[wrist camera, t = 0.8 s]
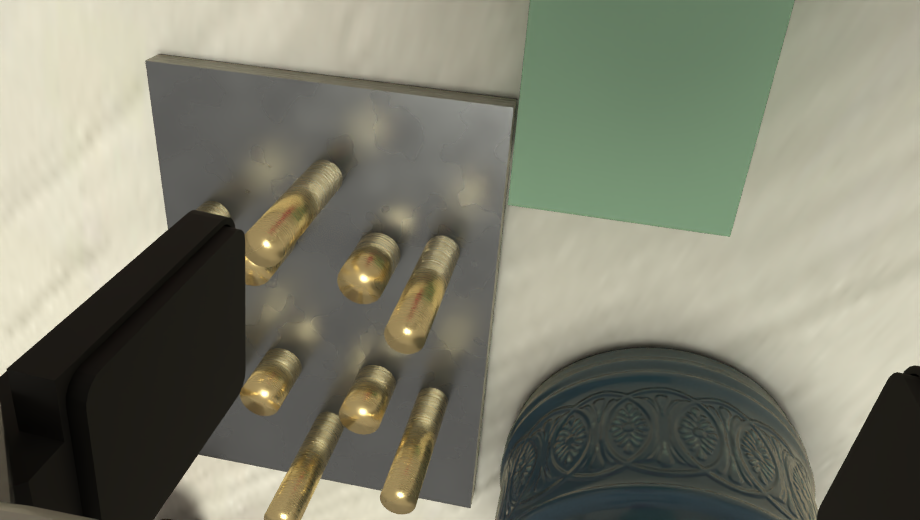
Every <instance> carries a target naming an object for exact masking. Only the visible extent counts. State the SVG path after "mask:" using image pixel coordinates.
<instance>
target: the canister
mask: <svg viewBox="0 0 920 520" xmlns="http://www.w3.org/2000/svg"><path fill="white" fill-rule="evenodd" d="M500 488H501V491H500V496H499V502H498V507H497V512H496V517H495V520H817V514H818V509H817V505H816V502H815V483H814V478H813V473H812V470H811V467H810V464H809V461H808V457H807V454H806V451H805V448H804V446H803V443H802V441H801V439H800V437H799V436H798V434H797V432H796V430H795V429H794V427H793V426H792V425H791V423H790V422H789V420H788V419H787V417H786V416H785V414H784V412H783V411H782V409H781V408H780V407H779V405H778V404H777V403H776V402H775V400H774V399H773V398H772V397H771V396H770V395H769V394H768V393H767V392H766V391H765V390H764V389H763V388H762V387H761V386H759V385H758V384H757V383H756V382H754V381H753V380H752V379H750V378H749V377H747V376H746V375H744V374H743V373H741V372H739V371H738V370H736V369H734V368H732V367H730V366H728V365H726V364H724V363H721V362H719V361H716V360H714V359H711V358H708V357H705V356H702V355H698V354H695V353H691V352H686V351H681V350H674V349H667V348H628V349H620V350H614V351H609V352H604V353H600V354H596V355H593V356H590V357H587V358H585V359H582V360H580V361H577V362H575V363H573V364H571V365H569V366H567V367H565V368H563V369H562V370H560V371H558V372H557V373H555V374H554V375H553V376H551V377H550V378H549V379H547V380H546V381H545V382H544V383H543V384H541V385H540V387H539V388H538V389H537V390H536V391H535V392H534V393H533V394H532V395H531V396H530V398H529V399H528V401H527V402H526V404H525V405H524V407H523V409H522V410H521V412H520V415H519V417H518V418H517V420H516V421H515V423H514V425H513V427H512V429H511V431H510V433H509V436H508V438H507V442H506V445H505V449H504V454H503V458H502V463H501V470H500Z"/></svg>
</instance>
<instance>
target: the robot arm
mask: <svg viewBox="0 0 920 520" xmlns="http://www.w3.org/2000/svg"><path fill="white" fill-rule="evenodd" d="M245 371H246V352H245V235H244V232H243V231H242V230H240V229H236V228H235V224H234V221H233V220H232V219H231V218H230V217H226V216H221V215H217V214H212V213H207V212H203V211H198V210H192V211H190V212H188V213H187V214H186V215H185V216H184V217H182V218H181V219H180V220H179V221H178V222H177V223H175V224H174V225H173V226H172V227H171V228H170V229H168V230H167V231H166V232H165V233H164V234H163V235H161V236H160V237H159V238H158V239H157V240H156V241H155V242H153V243H152V244H151V245H150V246H149V247H148V248H146V249H145V250H144V251H143V252H142V253H141V254H139V255H138V256H137V257H136V258H135V259H134V260H133V261H131V262H130V263H129V264H128V265H127V266H126V267H124V268H123V269H122V270H121V271H120V272H119V273H117V274H116V275H115V276H114V277H113V278H112V279H110V280H109V281H108V282H107V283H106V284H105V285H104V286H102V287H101V288H100V289H99V290H98V291H97V292H95V293H94V294H93V295H92V296H91V297H90V298H88V299H87V300H86V301H85V302H84V303H83V304H81V305H80V306H79V307H78V308H77V309H76V310H75V311H73V312H72V313H71V314H70V315H69V316H68V317H66V318H65V319H64V320H63V321H62V322H61V323H59V324H58V325H57V326H56V327H55V328H54V329H53V330H51V331H50V332H49V333H48V334H47V335H46V336H44V337H43V338H42V339H41V340H40V341H39V342H37V343H36V344H35V345H34V346H33V347H32V348H30V349H29V350H28V351H27V352H26V353H25V354H24V355H22V356H21V357H20V358H19V359H18V360H17V361H15V362H14V363H13V364H12V365H11V366H10V367H8V368H7V371H6V372H5V373H4V374H3V375H2V376H1V377H0V520H153V519H154V518H155V516H156V515H157V513H158V512H159V511H160V509H161V508H162V506H163V505H164V503H165V502H166V500H167V499H168V497H169V496H170V495H171V493H172V492H173V490H174V489H175V487H176V486H177V484H178V483H179V481H180V480H181V479H182V477H183V476H184V474H185V473H186V471H187V470H188V468H189V467H190V466H191V464H192V463H193V461H194V460H195V458H196V457H197V455H198V454H199V452H200V451H201V450H202V448H203V447H204V445H205V444H206V442H207V441H208V439H209V438H210V436H211V435H212V434H213V432H214V431H215V429H216V428H217V426H218V425H219V423H220V422H221V420H222V419H223V418H224V416H225V415H226V413H227V412H228V410H229V409H230V407H231V406H232V404H233V403H234V402H235V400H236V399H237V397H238V395H239V394H240V392H241V389H242V387H243V383H244V379H245ZM817 520H920V366H911V367H909V368H908V369H907V370H905V371H904V373H898V372H897V373H894V374H892V375H891V376H890V377H889V379H888V380H887V382H886V384H885V386H884V388H883V389H882V391H881V393H880V395H879V397H878V399H877V401H876V403H875V404H874V406H873V408H872V410H871V412H870V414H869V416H868V417H867V419H866V421H865V423H864V425H863V427H862V429H861V431H860V432H859V434H858V436H857V438H856V440H855V442H854V444H853V446H852V447H851V449H850V451H849V453H848V455H847V457H846V459H845V461H844V462H843V464H842V466H841V468H840V470H839V472H838V474H837V475H836V477H835V479H834V481H833V483H832V485H831V487H830V489H829V490H828V492H827V494H826V496H825V498H824V500H823V502H822V504H821V505H820V508H819V510H818V514H817Z"/></svg>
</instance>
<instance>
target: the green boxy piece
mask: <svg viewBox="0 0 920 520" xmlns="http://www.w3.org/2000/svg"><path fill="white" fill-rule="evenodd" d="M794 1H795V0H530V5H529V14H528V23H527V32H526V41H525V51H524V60H523V69H522V78H521V88H520V97H519V106H518V115H517V124H516V134H515V143H514V152H513V161H512V170H511V180H510V189H509V198H508V205H512V206H519V207H526V208H533V209H540V210H547V211H554V212H561V213H568V214H575V215H582V216H589V217H596V218H603V219H610V220H617V221H624V222H631V223H638V224H644V225H651V226H658V227H665V228H672V229H679V230H686V231H693V232H700V233H707V234H714V235H721V236H728V237H730V235H731V231H732V228H733V224H734V220H735V217H736V213H737V209H738V206H739V202H740V198H741V195H742V191H743V187H744V184H745V180H746V177H747V173H748V169H749V166H750V162H751V158H752V155H753V151H754V147H755V144H756V140H757V136H758V133H759V129H760V125H761V122H762V118H763V114H764V111H765V107H766V104H767V100H768V96H769V93H770V89H771V85H772V82H773V78H774V74H775V71H776V67H777V63H778V60H779V56H780V52H781V49H782V45H783V41H784V38H785V34H786V31H787V27H788V23H789V20H790V16H791V12H792V9H793V5H794Z"/></svg>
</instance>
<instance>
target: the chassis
mask: <svg viewBox="0 0 920 520" xmlns="http://www.w3.org/2000/svg"><path fill="white" fill-rule="evenodd" d="M146 69H147V76H148V84H149V91H150V99H151V106H152V113H153V121H154V128H155V136H156V143H157V151H158V158H159V165H160V173H161V180H162V188H163V195H164V203H165V210H166V217H167V225H168V229H170V228H171V227H172V226H173V225H174V224H175V223H177V222H178V221H179V220H180V219H181V218H182V217H184V216H185V215H186V214H187V213H188V212H190V211H192V210H198V211H203V212H207V213H212V214H217V215H221V216H226V217H230V218H231V219H232V220H233V221H234V224H235V228H236V229H240V230H242V231H243V232H244V235H245V352H246V371H245V379H244V383H243V387H242V389H241V392H240V394H239V395H238V397H237V399H236V400H235V402H234V403H233V404H232V406H231V407H230V409H229V410H228V412H227V413H226V415H225V416H224V418H223V419H222V420H221V422H220V423H219V425H218V426H217V428H216V429H215V431H214V432H213V434H212V435H211V436H210V438H209V439H208V441H207V442H206V444H205V445H204V447H203V448H202V450H201V451H200V452H199V455H204V456H209V457H214V458H219V459H224V460H229V461H234V462H239V463H244V464H249V465H254V466H259V467H265V468H270V469H275V470H280V471H285V472H287V474H286V475H285V477H284V479H283V481H282V483H281V485H280V487H279V489H278V490H277V492H276V494H275V496H274V498H273V500H272V502H271V504H270V505H269V507H268V509H267V511H266V513H265V515H264V520H301V518H302V516H303V514H304V512H305V510H306V508H307V506H308V504H309V501H310V499H311V497H312V495H313V493H314V491H315V489H316V487H317V485H318V483H319V480H320V479H325V480H330V481H335V482H341V483H346V484H351V485H356V486H361V487H366V488H371V489H376V490H381V491H382V492H381V495H380V500H381V503H382V505H383V506H384V507H385V508H386V509H388V510H389V511H391V512H393V513H396V514H407V513H410V512H412V511H413V510H414V509H415V507H416V503H417V500H418V498H422V499H427V500H432V501H437V502H442V503H447V504H452V505H457V506H462V507H467V508H471V504H472V499H473V495H474V489H475V479H476V470H477V461H478V452H479V443H480V434H481V424H482V415H483V406H484V397H485V388H486V378H487V369H488V360H489V351H490V342H491V333H492V323H493V314H494V305H495V296H496V287H497V278H498V268H499V259H500V250H501V241H502V232H503V223H504V213H505V204H506V195H507V186H508V177H509V168H510V158H511V149H512V140H513V131H514V122H515V112H516V103H517V99H511V98H503V97H495V96H487V95H479V94H471V93H463V92H455V91H447V90H439V89H431V88H423V87H416V86H408V85H400V84H392V83H384V82H376V81H368V80H360V79H352V78H344V77H336V76H328V75H321V74H313V73H305V72H297V71H289V70H281V69H273V68H265V67H257V66H249V65H241V64H233V63H226V62H218V61H210V60H202V59H194V58H186V57H178V56H170V55H162V54H159V55H156V56H154V57H152V58H150V59H148V60H146Z"/></svg>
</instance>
